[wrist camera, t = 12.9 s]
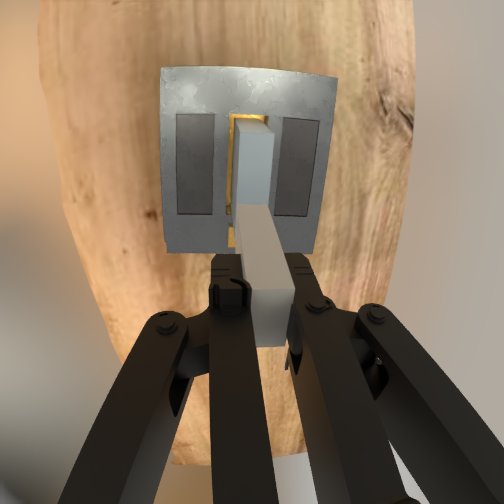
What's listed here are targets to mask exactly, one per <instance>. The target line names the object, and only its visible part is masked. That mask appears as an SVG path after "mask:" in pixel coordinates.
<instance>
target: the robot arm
mask: <svg viewBox="0 0 504 504" xmlns="http://www.w3.org/2000/svg"><path fill="white" fill-rule="evenodd" d="M235 253H236V254H216V255H215V257H214V258H213V259H212V261H211V284H210V286H209V289H208V290H209V306H208V308H207V309H206V310H205V311H204V312H202V313H201V314H199V315H196V316H193V317H189V318H185V317H184V316H183V315H182V314H180V313H178V312H175V311H162V312H158V313H156V314H154V315H152V316H151V317H150V318H149V319H148V321H147V322H146V324H145V326H144V327H143V329H142V331H141V333H140V335H139V336H138V338H137V340H136V342H135V344H134V346H133V347H132V349H131V351H130V353H129V355H128V357H127V359H126V361H125V362H124V364H123V366H122V368H121V370H120V372H119V374H118V376H117V378H116V380H115V382H114V384H113V386H112V388H111V389H110V392H109V393H108V395H107V397H106V399H105V401H104V403H103V405H102V408H101V409H100V411H99V413H98V416H97V417H96V420H95V422H94V424H93V426H92V428H91V430H90V432H89V434H88V436H87V438H86V440H85V443H84V445H83V447H82V449H81V451H80V454H79V456H78V458H77V460H76V462H75V464H74V467H73V469H72V471H71V473H70V476H69V478H68V480H67V483H66V485H65V487H64V489H63V492H62V494H61V496H60V499H59V501H58V504H153V502H154V499H155V496H156V493H157V489H158V486H159V483H160V480H161V477H162V474H163V471H164V468H165V465H166V462H167V459H168V455H169V453H170V450H171V446H172V443H173V440H174V437H175V434H176V431H177V428H178V425H179V422H180V419H181V416H182V413H183V410H184V407H185V404H186V401H187V398H188V395H189V392H190V389H191V386H192V383H193V380H194V377H196V376H200V375H203V374H207V373H209V400H210V441H211V468H212V489H213V504H279V500H278V494H277V488H276V481H275V474H274V467H273V461H272V454H271V447H270V440H269V434H268V427H267V420H266V413H265V406H264V399H263V392H262V385H261V378H260V371H259V364H258V357H257V350H256V347H277V346H285V343H286V338H287V340H288V344H289V348H288V353H287V358H286V363H285V370H288V366H289V367H290V371H291V376H292V381H293V385H294V390H295V395H296V399H297V404H298V409H299V413H300V418H301V423H302V428H303V432H304V437H305V442H306V447H307V451H308V456H309V461H310V466H311V471H312V476H313V481H314V485H315V491H316V495H317V500H318V504H421V503H420V502H419V501H417V500H416V499H413V498H411V497H409V496H408V494H407V493H406V491H405V488H404V485H403V482H402V479H401V476H400V473H399V470H398V467H397V464H396V461H395V458H394V455H393V452H392V449H391V446H390V443H391V444H392V446H393V448H394V449H395V451H396V452H397V454H398V455H399V457H400V458H401V459H402V461H403V463H404V464H405V466H406V467H407V469H408V471H409V472H410V474H411V475H412V477H413V478H414V479H415V481H416V483H417V484H418V486H419V487H420V489H421V490H422V492H423V494H424V495H425V497H426V498H427V500H428V501H429V503H430V504H504V448H503V446H502V444H501V443H500V442H499V440H498V439H497V438H496V437H495V435H494V434H493V433H492V431H491V430H490V429H489V428H488V426H487V425H486V423H485V422H484V421H483V419H482V418H481V417H480V416H479V415H478V413H477V412H476V410H475V409H474V408H473V407H472V405H471V404H470V403H469V402H468V400H467V399H466V398H465V397H464V396H463V394H462V393H461V392H460V391H459V389H458V388H457V387H456V386H455V384H454V383H453V382H452V381H451V380H450V379H449V377H448V376H447V375H446V374H445V373H444V371H443V370H442V369H441V368H440V367H439V365H438V364H437V363H436V362H435V361H434V360H433V358H432V357H431V356H430V355H429V354H428V353H427V352H426V350H425V349H424V348H423V347H422V346H421V345H420V344H419V342H418V341H417V340H416V339H415V338H414V337H413V336H412V335H411V333H410V332H409V331H408V330H407V329H406V328H405V327H404V326H403V324H402V323H401V322H400V321H399V320H398V319H397V318H396V317H395V316H394V315H393V313H392V312H391V311H389V310H388V309H387V308H385V307H384V306H382V305H379V304H374V303H369V304H365V305H363V306H361V307H360V309H359V311H358V313H356V312H351V311H345V310H341V309H338V308H336V306H335V304H334V303H333V301H332V300H331V299H329V298H328V297H326V296H324V295H323V293H322V291H321V289H320V286H319V284H318V281H317V279H316V277H315V275H314V272H313V270H312V268H311V265H310V262H309V260H308V259H307V258H306V257H305V256H304V255H303V254H302V253H283V250H282V247H281V244H280V241H279V238H278V235H277V232H276V229H275V226H274V223H273V220H272V217H271V214H270V211H269V208H268V205H249V204H237V215H236V249H235ZM378 358H379V359H378ZM388 440H389V441H390V443H389V441H388Z"/></svg>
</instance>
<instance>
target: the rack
mask: <svg viewBox="0 0 504 504" xmlns="http://www.w3.org/2000/svg"><path fill="white" fill-rule="evenodd" d="M337 81H338V78H335V77H329V76H323V75H316V74H309V73H302V72H294V71H285V70H275V69H263V68H249V67H227V66H179V67H163V68H162V69H161V80H160V166H161V192H162V211H163V226H164V240H165V242H166V245H167V253H230V254H236V253H235V249H236V242H235V240H234V229H233V219H232V208H231V176H232V154H233V134H234V117H239V118H259V119H260V120H261V121H262V122H263V123H264V124H265V125H266V126H267V127H268V128H269V129H270V130H271V131H272V132H273V133H274V134H275V135H274V147H273V158H272V169H271V181H270V191H269V202H268V208H269V211H270V214H271V217H272V220H273V223H274V226H275V229H276V232H277V235H278V238H279V241H280V244H281V247H282V250H283V253H302V254H313V249H314V243H315V238H316V232H317V226H318V220H319V215H320V209H321V202H322V196H323V190H324V183H325V177H326V170H327V163H328V156H329V149H330V141H331V134H332V126H333V118H334V109H335V100H336V91H337Z"/></svg>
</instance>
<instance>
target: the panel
mask: <svg viewBox="0 0 504 504" xmlns="http://www.w3.org/2000/svg"><path fill="white" fill-rule="evenodd" d="M274 135H275V134H274V133H273V132H272V131H271V130H270V129H269V128H268V127H267V126H266V125H265V124H264V123H263V122H262V121H261V120H260V119H259V118H239V117H234V134H233V154H232V176H231V208H232V219H233V229H234V240H235V242H236V215H237V204H249V205H268V202H269V191H270V181H271V169H272V158H273V147H274Z"/></svg>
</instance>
